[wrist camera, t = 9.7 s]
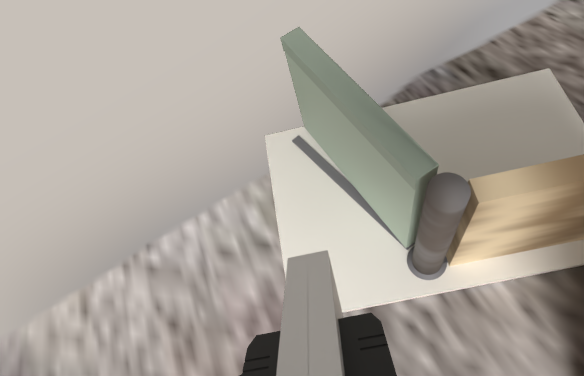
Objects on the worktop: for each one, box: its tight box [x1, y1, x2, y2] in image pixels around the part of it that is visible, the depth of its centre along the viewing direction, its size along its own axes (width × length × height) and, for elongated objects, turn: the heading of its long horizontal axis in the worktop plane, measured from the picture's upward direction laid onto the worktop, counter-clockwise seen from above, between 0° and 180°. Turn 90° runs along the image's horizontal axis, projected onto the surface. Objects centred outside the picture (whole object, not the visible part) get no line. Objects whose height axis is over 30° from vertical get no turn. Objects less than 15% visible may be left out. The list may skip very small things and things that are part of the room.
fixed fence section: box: [412, 154, 584, 275], centre depth 22 cm, size 14×2×10 cm, turn 100°
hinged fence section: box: [281, 27, 439, 248], centre depth 26 cm, size 12×1×9 cm, turn 33°
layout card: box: [265, 68, 584, 313], centre depth 29 cm, size 22×14×1 cm, turn 100°
